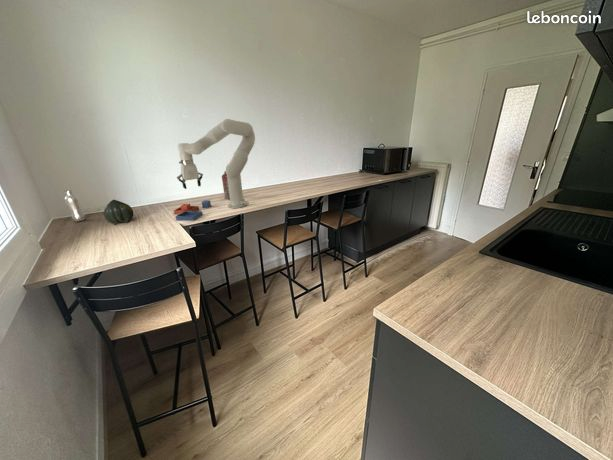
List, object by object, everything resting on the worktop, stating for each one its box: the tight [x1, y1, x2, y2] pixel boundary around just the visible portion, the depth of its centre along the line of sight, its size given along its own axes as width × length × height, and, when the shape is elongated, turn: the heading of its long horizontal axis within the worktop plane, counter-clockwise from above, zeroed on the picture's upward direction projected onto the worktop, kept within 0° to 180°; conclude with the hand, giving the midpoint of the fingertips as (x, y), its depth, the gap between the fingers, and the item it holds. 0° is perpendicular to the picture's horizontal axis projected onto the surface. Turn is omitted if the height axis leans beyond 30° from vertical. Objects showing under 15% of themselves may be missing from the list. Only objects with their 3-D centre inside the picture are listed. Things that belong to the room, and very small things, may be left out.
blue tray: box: [175, 210, 204, 222], centre depth 166 cm, size 12×11×2 cm
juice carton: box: [221, 170, 230, 201], centre depth 205 cm, size 7×7×22 cm
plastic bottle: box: [63, 189, 86, 223], centre depth 159 cm, size 6×7×20 cm
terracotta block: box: [180, 203, 192, 211], centre depth 177 cm, size 4×4×4 cm
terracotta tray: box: [173, 205, 200, 215], centre depth 177 cm, size 12×11×2 cm
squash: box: [103, 199, 134, 225], centre depth 158 cm, size 14×15×15 cm
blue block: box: [201, 199, 212, 209], centre depth 186 cm, size 4×4×4 cm
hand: (192, 187), depth 176 cm, fingers open, 9 cm apart
